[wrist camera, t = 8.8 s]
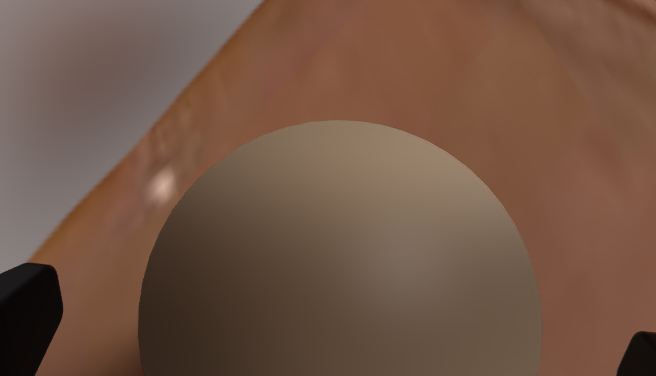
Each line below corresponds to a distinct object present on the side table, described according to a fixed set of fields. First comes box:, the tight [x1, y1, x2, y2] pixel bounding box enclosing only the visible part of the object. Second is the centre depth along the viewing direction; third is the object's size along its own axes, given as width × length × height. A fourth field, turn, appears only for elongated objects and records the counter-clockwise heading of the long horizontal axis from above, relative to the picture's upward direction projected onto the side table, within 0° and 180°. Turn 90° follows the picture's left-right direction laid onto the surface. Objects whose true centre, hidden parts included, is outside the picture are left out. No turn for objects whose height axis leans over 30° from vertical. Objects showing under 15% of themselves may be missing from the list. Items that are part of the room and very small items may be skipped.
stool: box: [138, 120, 543, 376], centre depth 14 cm, size 7×7×11 cm
